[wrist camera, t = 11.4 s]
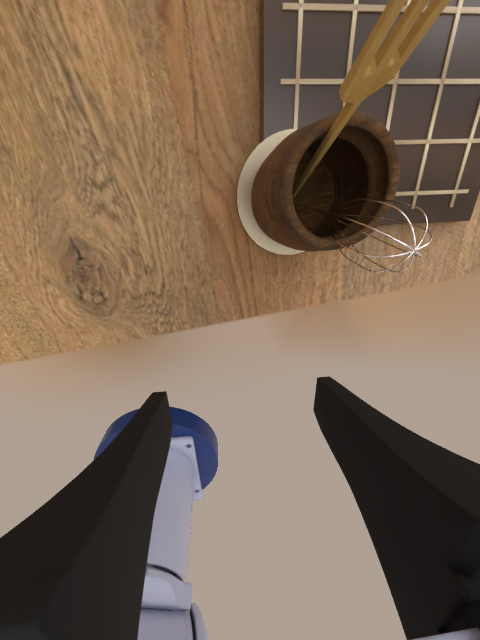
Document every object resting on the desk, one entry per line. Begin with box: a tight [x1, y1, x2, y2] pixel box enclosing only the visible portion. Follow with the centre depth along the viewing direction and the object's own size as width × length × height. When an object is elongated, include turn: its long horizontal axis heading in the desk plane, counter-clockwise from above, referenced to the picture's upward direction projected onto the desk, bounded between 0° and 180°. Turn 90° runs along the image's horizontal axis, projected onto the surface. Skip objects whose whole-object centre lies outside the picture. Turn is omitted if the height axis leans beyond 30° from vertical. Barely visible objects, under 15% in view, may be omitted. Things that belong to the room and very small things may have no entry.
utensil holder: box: [251, 0, 450, 273], centre depth 11 cm, size 6×6×12 cm
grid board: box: [237, 0, 480, 255], centre depth 15 cm, size 18×18×1 cm
